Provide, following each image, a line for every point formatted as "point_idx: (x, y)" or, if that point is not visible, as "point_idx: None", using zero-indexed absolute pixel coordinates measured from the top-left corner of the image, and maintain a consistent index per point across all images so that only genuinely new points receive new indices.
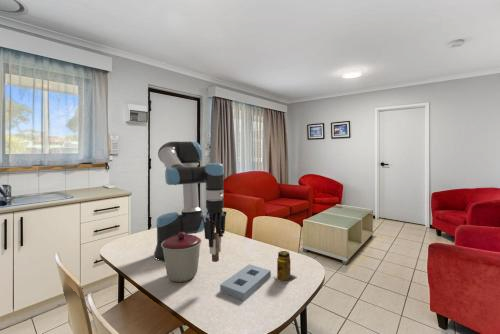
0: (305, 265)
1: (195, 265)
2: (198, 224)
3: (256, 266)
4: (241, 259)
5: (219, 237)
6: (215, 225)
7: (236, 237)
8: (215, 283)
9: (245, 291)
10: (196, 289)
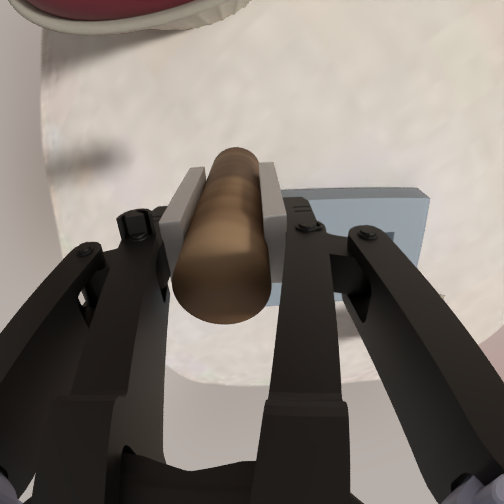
0: (488, 315)
1: (203, 22)
2: None
3: (422, 235)
4: (479, 105)
5: None
6: (276, 332)
7: None
8: (244, 133)
9: None
10: (157, 105)
